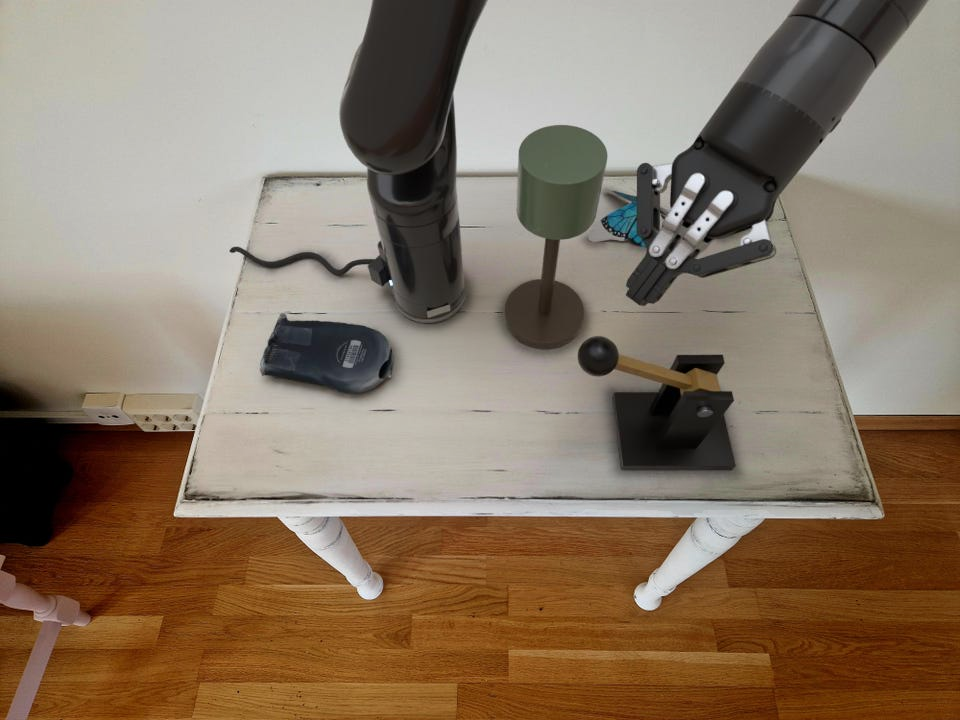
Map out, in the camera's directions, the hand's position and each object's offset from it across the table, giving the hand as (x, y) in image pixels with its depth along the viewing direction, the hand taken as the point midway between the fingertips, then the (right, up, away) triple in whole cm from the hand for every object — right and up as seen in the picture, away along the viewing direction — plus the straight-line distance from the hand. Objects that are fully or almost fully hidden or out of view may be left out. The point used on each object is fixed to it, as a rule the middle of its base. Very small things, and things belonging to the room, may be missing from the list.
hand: (635, 300), depth 48 cm
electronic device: (-31, -5, +23) cm, 39 cm away
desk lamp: (-5, +1, +26) cm, 26 cm away
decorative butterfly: (+9, +14, +33) cm, 37 cm away
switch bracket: (+8, -13, +17) cm, 23 cm away
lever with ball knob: (+2, -7, +6) cm, 10 cm away
